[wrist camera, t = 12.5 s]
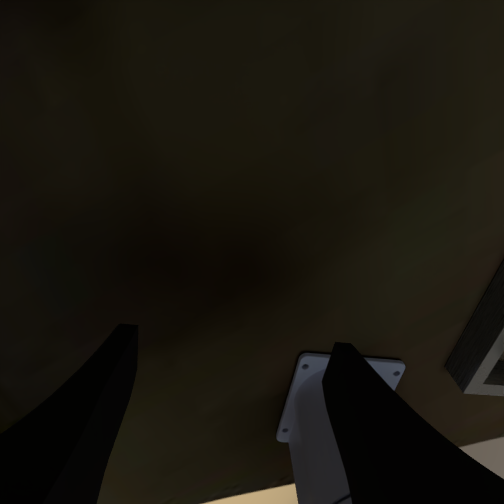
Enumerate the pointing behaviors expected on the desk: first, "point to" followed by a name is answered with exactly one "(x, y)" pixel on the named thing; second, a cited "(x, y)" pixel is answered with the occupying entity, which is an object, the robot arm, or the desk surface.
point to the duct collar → (482, 345)
